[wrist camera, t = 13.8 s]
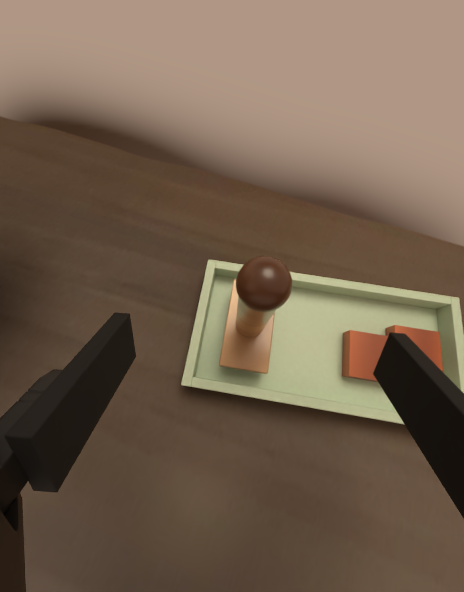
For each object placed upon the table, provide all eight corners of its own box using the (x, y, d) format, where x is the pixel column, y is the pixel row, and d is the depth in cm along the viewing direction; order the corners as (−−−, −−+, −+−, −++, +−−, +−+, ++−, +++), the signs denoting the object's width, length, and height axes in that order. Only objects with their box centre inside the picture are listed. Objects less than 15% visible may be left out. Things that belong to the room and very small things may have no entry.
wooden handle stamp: (219, 367, 23) (207, 351, 10) (233, 289, 25) (236, 197, 13) (263, 374, 23) (306, 367, 10) (273, 295, 25) (316, 209, 12)
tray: (185, 384, 23) (180, 384, 21) (210, 269, 27) (208, 259, 24) (451, 431, 22) (477, 437, 20) (439, 305, 26) (459, 297, 23)
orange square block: (386, 370, 23) (396, 370, 22) (384, 327, 24) (394, 324, 23) (430, 378, 23) (444, 378, 21) (427, 334, 24) (440, 331, 23)
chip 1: (341, 376, 23) (348, 375, 21) (342, 332, 24) (349, 329, 23) (386, 383, 23) (397, 384, 21) (385, 339, 24) (395, 337, 22)
